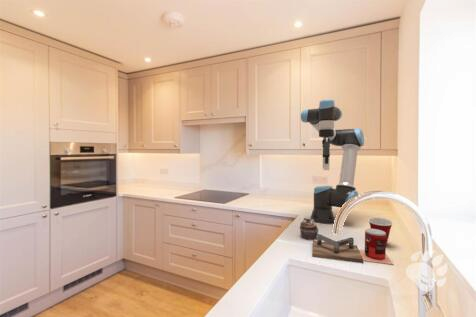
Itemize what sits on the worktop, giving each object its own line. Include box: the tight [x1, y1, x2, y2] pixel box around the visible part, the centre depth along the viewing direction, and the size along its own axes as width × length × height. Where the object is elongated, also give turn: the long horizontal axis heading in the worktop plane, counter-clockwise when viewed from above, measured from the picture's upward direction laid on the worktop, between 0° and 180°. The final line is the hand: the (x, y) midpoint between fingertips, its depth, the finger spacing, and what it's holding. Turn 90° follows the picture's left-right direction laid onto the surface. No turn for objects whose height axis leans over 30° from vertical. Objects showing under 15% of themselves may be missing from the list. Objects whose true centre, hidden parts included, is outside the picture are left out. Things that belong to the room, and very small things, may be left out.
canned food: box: [364, 228, 387, 260], centre depth 106 cm, size 8×8×11 cm
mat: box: [359, 249, 394, 266], centre depth 106 cm, size 12×11×1 cm
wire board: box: [312, 233, 364, 264], centre depth 111 cm, size 16×20×6 cm
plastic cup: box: [367, 217, 394, 246], centre depth 121 cm, size 11×11×12 cm
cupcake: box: [299, 217, 319, 241], centre depth 131 cm, size 10×10×10 cm
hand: (325, 169), depth 129 cm, fingers open, 13 cm apart
